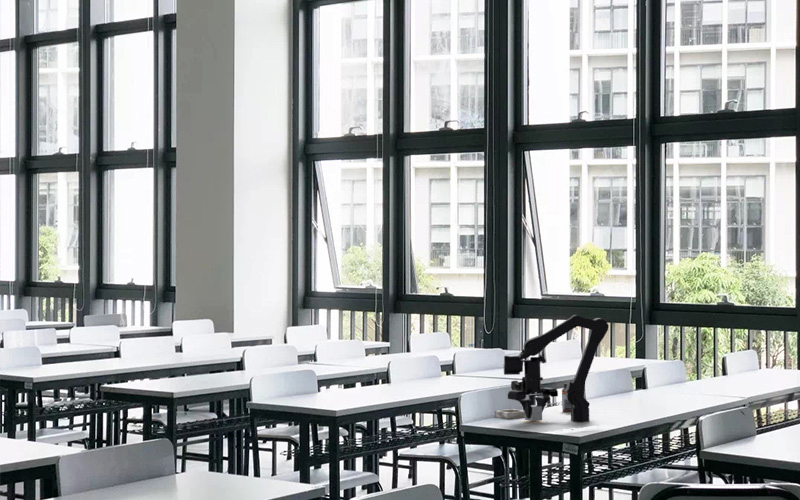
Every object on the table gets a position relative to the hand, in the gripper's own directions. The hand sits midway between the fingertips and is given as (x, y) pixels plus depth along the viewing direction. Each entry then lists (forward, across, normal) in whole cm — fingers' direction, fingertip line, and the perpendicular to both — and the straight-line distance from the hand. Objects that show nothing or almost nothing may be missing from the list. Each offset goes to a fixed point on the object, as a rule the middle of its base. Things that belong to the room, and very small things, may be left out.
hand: (533, 417), depth 381 cm
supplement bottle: (+3, -34, -21) cm, 40 cm away
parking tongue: (+3, 0, 0) cm, 3 cm away
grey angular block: (+1, 0, 0) cm, 1 cm away
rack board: (+3, -1, -13) cm, 13 cm away
